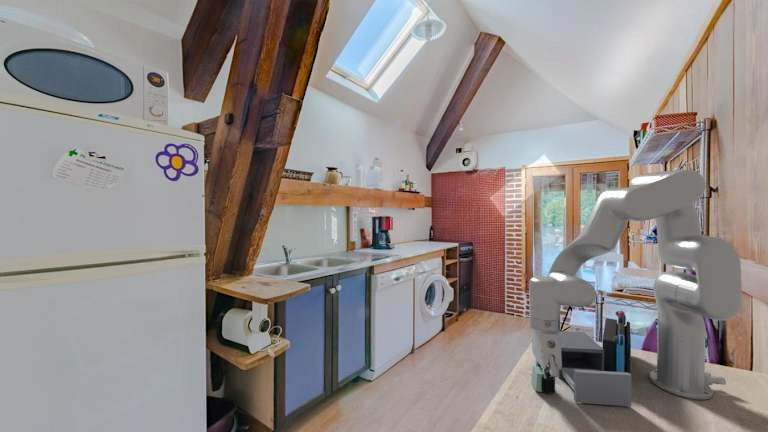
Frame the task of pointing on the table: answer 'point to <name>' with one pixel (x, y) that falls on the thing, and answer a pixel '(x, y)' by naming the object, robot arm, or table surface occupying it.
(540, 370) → the block
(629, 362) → the game console
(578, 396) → the drawer
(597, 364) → the grey box
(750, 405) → the table surface
